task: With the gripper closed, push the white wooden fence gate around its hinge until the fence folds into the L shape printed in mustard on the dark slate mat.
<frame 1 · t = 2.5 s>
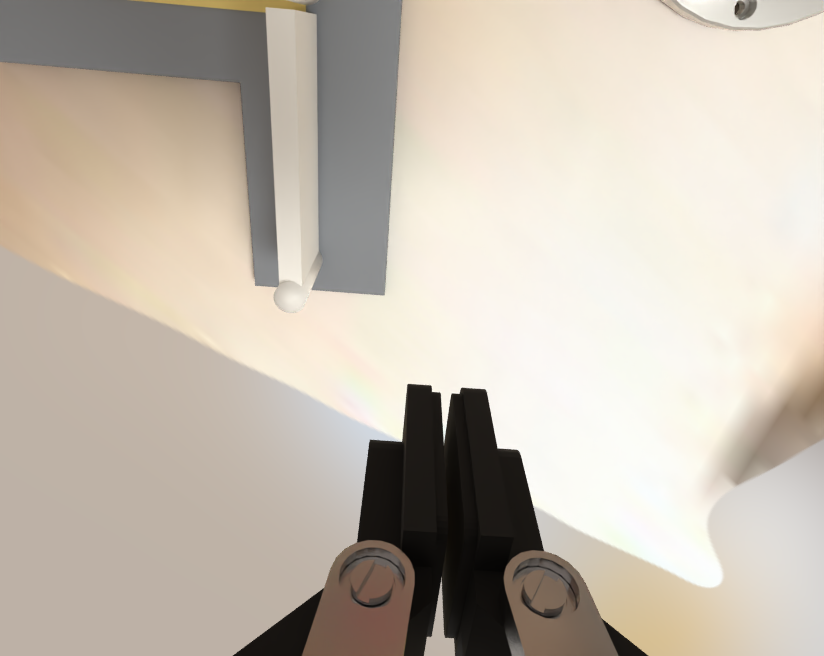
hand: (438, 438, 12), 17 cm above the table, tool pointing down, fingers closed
fence gate: (297, 168, 23), point 3 cm above the table, hinge at 0.0°
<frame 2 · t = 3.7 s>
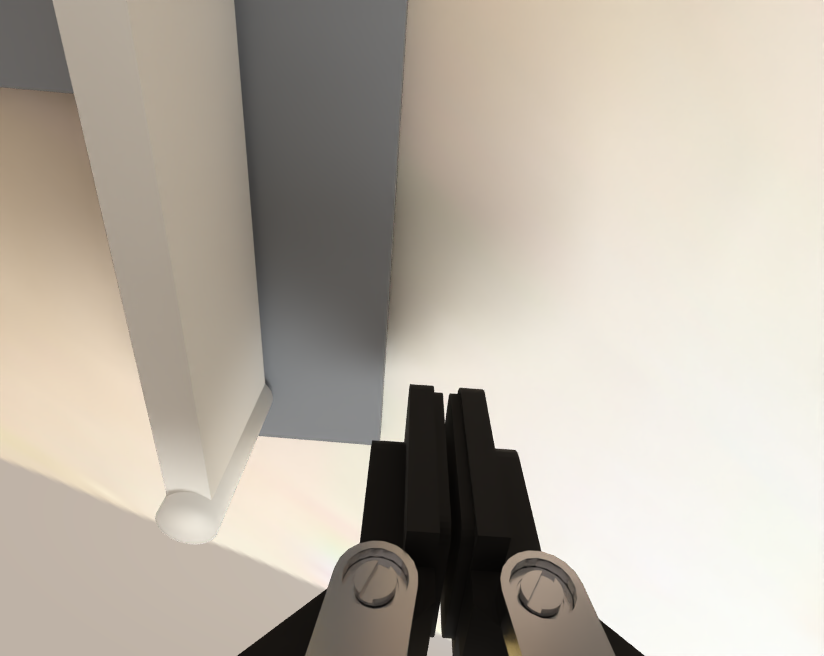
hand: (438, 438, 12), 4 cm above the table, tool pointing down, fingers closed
fence gate: (197, 272, 11), point 3 cm above the table, hinge at 0.0°
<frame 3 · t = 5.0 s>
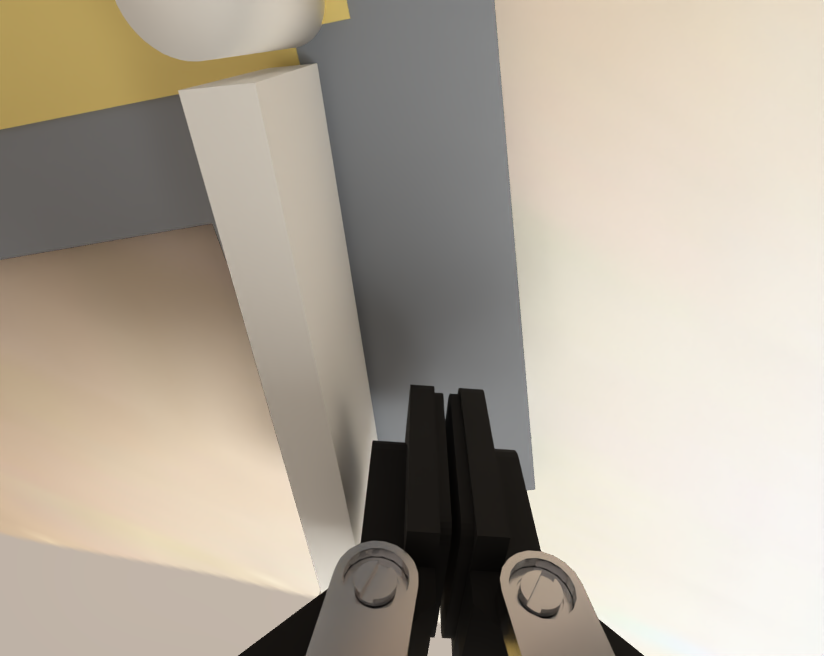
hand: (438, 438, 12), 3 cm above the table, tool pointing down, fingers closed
fence base: (291, 2, 11), on the table
fence gate: (323, 374, 11), point 3 cm above the table, hinge at -4.9°, touching gripper
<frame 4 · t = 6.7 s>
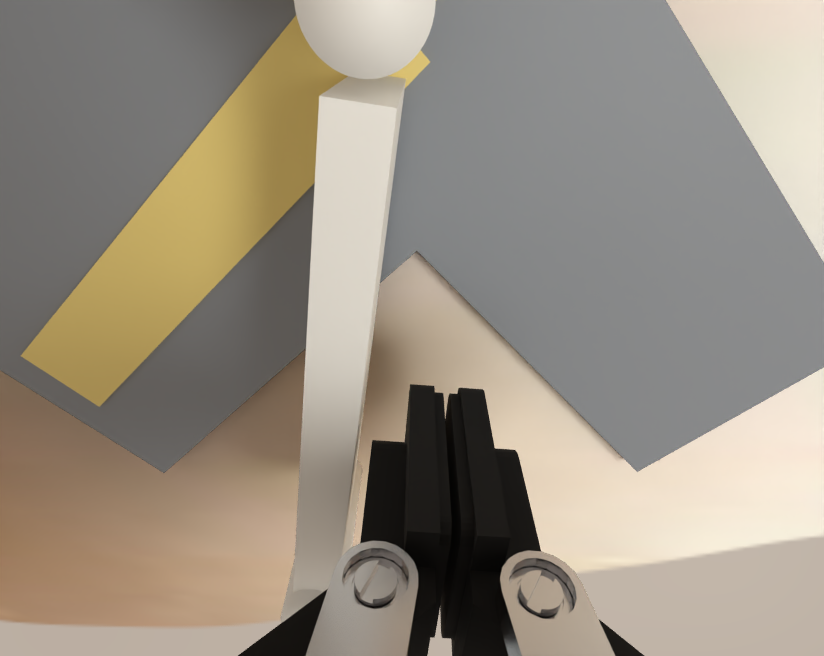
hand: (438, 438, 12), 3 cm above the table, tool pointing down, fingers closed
fence base: (390, 12, 11), on the table
fence gate: (342, 377, 11), point 3 cm above the table, hinge at -51.8°, touching gripper
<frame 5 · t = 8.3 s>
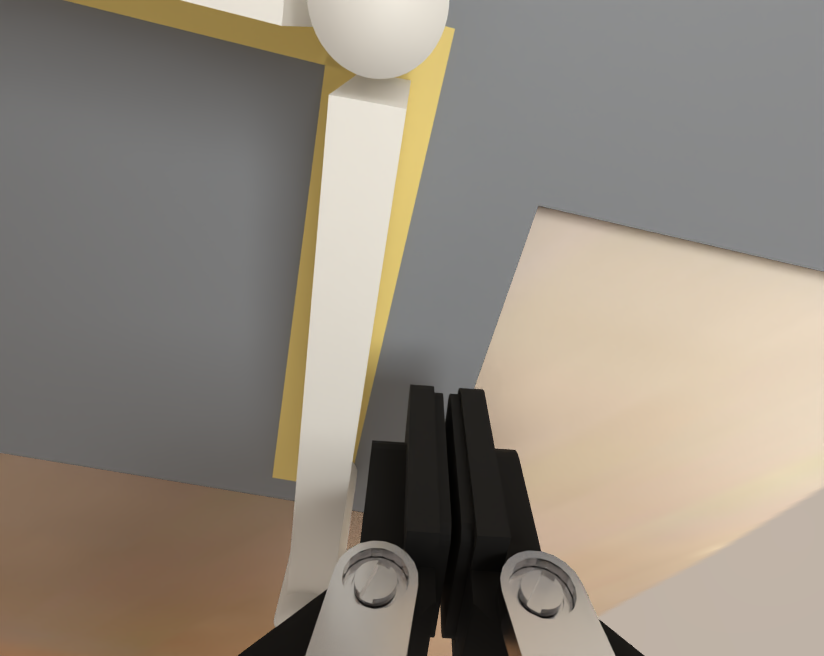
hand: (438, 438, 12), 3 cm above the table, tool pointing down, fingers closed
fence base: (396, 13, 11), on the table
fence gate: (341, 379, 11), point 3 cm above the table, hinge at -87.0°, touching gripper
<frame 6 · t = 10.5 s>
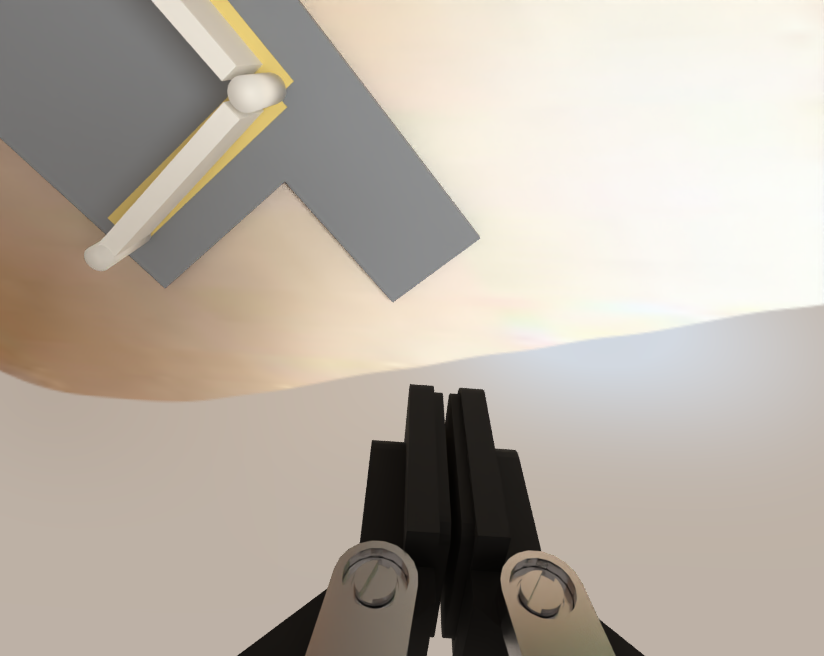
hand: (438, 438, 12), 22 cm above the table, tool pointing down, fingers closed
fence base: (274, 87, 29), on the table
fence gate: (174, 184, 28), point 3 cm above the table, hinge at -87.1°
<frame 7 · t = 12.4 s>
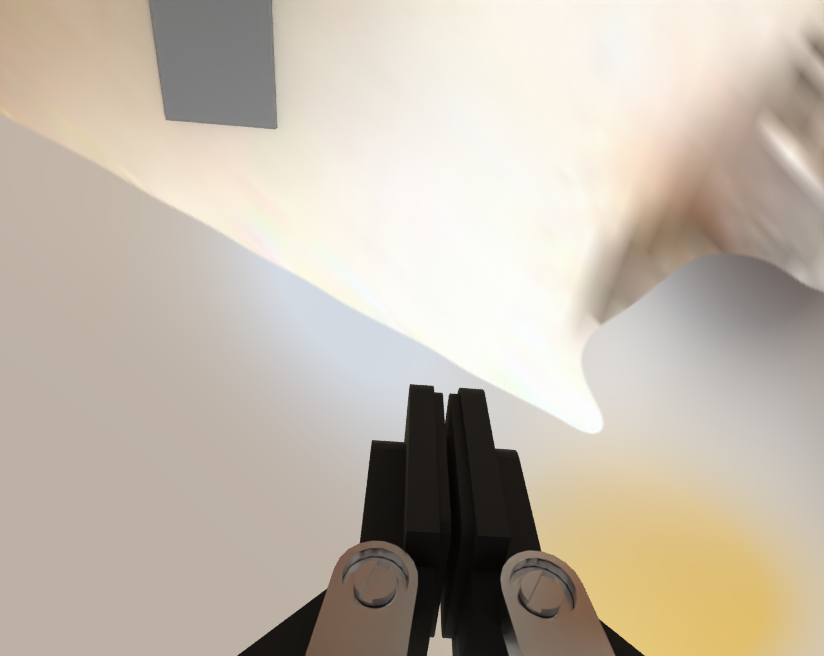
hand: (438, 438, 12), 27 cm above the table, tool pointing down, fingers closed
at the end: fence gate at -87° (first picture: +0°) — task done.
